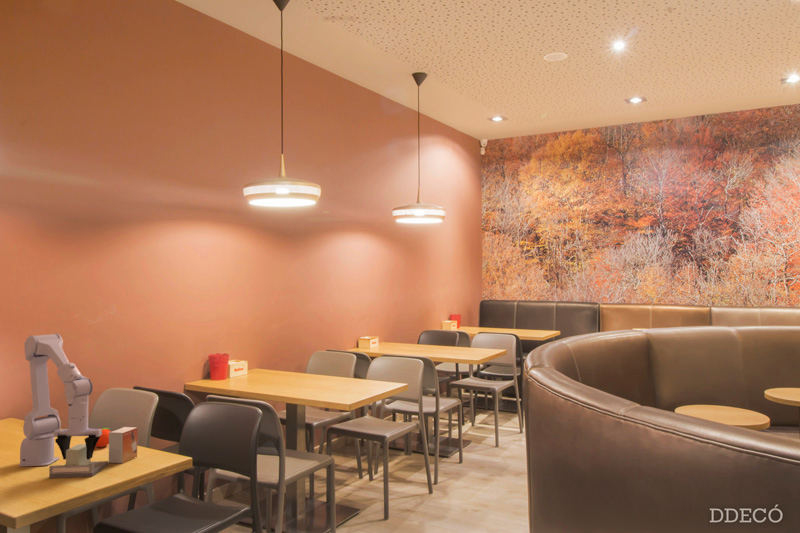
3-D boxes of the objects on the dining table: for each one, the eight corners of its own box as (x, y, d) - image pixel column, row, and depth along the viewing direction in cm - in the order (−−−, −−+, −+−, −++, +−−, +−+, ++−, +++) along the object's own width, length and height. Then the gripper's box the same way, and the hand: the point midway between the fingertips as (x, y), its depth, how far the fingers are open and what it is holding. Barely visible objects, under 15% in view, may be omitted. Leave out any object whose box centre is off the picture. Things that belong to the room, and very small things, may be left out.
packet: (65, 472, 178) (65, 450, 179) (78, 465, 185) (78, 444, 186) (78, 472, 178) (78, 450, 179) (90, 465, 185) (90, 443, 186)
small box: (122, 464, 190) (122, 432, 191) (108, 463, 191) (108, 432, 192) (137, 456, 198) (138, 427, 199) (124, 456, 199) (124, 426, 200)
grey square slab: (48, 478, 176) (49, 466, 176) (68, 466, 188) (68, 455, 188) (92, 476, 177) (92, 465, 178) (108, 464, 190) (108, 453, 190)
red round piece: (111, 442, 217) (111, 424, 217) (117, 446, 212) (117, 427, 212) (88, 446, 211) (89, 428, 211) (94, 450, 206) (94, 431, 206)
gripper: (106, 413, 186) (106, 454, 186) (63, 413, 186) (63, 454, 186) (95, 418, 179) (94, 461, 179) (50, 418, 179) (49, 461, 179)
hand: (77, 458), depth 182 cm, fingers open, 7 cm apart
